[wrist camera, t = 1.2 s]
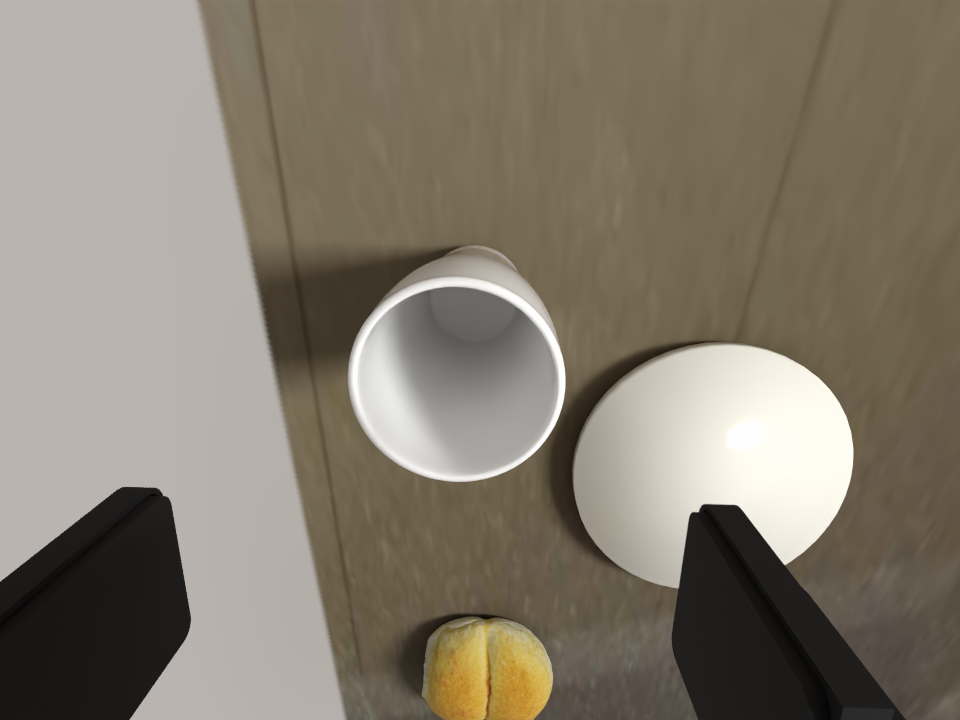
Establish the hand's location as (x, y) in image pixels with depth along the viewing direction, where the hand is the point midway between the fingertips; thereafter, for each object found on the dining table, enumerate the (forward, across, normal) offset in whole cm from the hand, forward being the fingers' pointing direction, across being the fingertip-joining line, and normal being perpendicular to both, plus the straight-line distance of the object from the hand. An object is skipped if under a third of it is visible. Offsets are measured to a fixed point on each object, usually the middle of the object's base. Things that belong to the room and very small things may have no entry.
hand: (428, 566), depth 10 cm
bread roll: (+23, -1, +25) cm, 34 cm away
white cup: (+22, 0, -1) cm, 22 cm away
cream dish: (+22, -14, +9) cm, 28 cm away
